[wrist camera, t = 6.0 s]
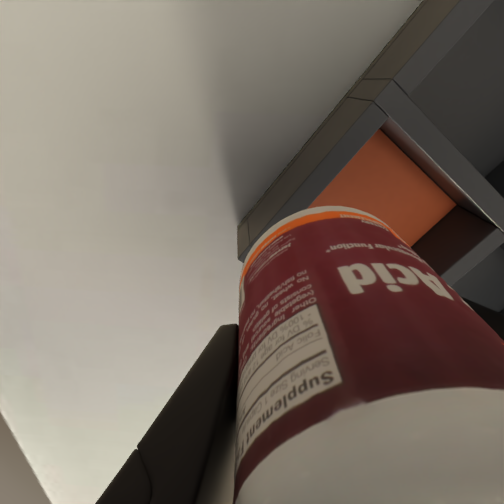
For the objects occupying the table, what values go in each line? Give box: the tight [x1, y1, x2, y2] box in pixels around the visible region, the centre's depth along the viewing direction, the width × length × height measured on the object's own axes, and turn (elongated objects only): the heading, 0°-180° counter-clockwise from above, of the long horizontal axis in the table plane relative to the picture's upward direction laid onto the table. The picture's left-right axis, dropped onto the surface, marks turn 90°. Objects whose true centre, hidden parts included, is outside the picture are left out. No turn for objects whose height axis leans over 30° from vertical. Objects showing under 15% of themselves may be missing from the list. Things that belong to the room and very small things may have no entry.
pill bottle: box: [233, 206, 504, 504], centre depth 6 cm, size 5×5×8 cm
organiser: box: [237, 0, 504, 314], centre depth 18 cm, size 19×19×4 cm
